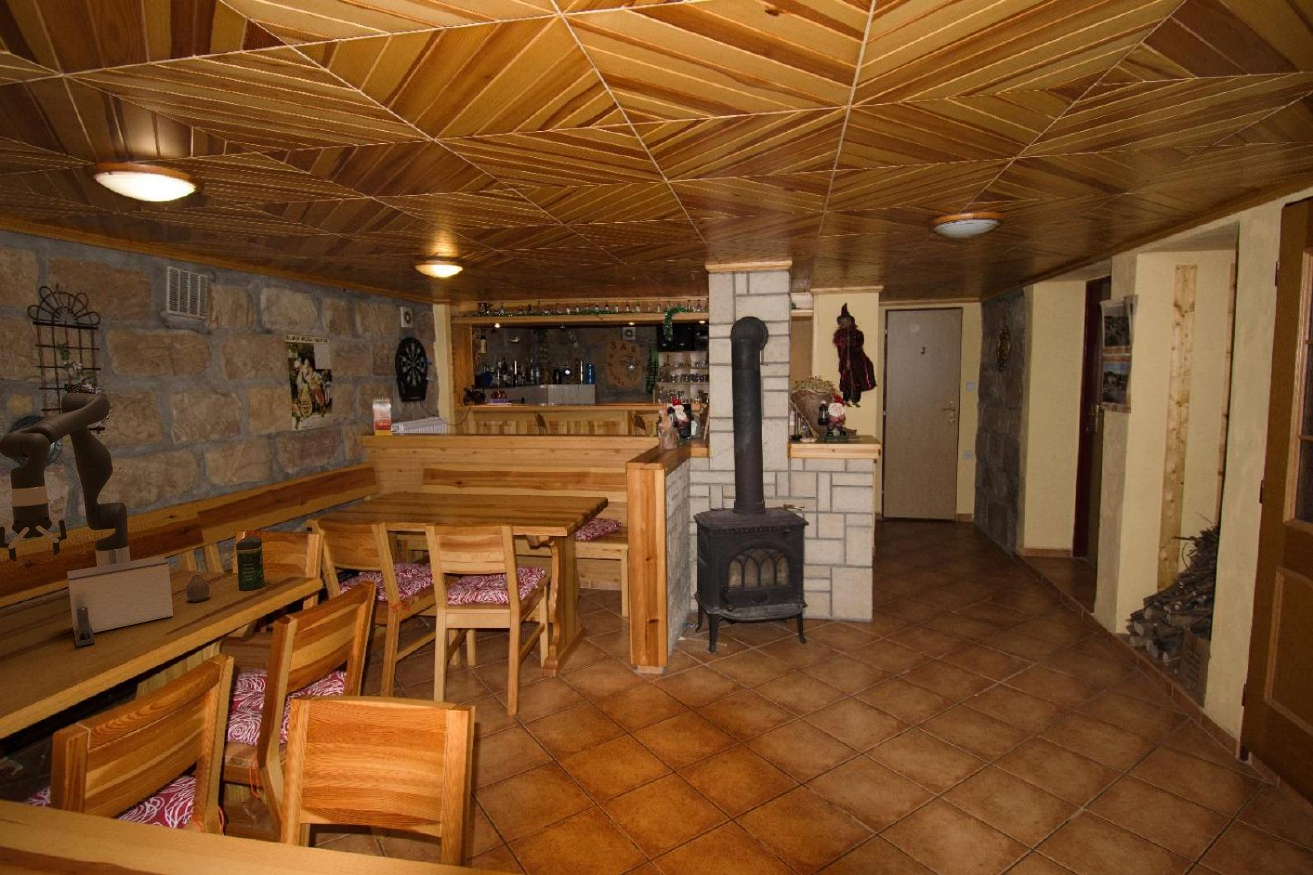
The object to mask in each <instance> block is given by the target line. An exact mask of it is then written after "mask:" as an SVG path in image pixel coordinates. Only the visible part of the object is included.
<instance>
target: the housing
mask: <svg viewBox="0 0 1313 875" xmlns="http://www.w3.org/2000/svg"><path fill="white" fill-rule="evenodd" d="M163 564H169V562H168V560H167V558H165V556H164V555H161V556H155V557H154V556H153V557H148V558H143V559H136V560H130V561H129V562H122V563H116V564H110V565H104V566H98V567H97V566H93V567H88V568H87V567H86V568H80V569H74V570H68V571H66V574H67V582H68V592H69V594H68V595H69V601H70V611H71V612H70V613H71V620H72V621H71V622H72V623H71V624H72V629H73V631H74V625H73V615H72V605H71V596H70V586H69V580H75V579H81V578H87V577H93V576H99V575H104V574H110V573H116V572H122V571H128V570H134V569H140V568H146V567H152V566H157V565H163ZM73 634H74V633H73ZM74 637H75V634H74Z"/></svg>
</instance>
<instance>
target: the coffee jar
mask: <svg viewBox="0 0 1313 875" xmlns="http://www.w3.org/2000/svg"><path fill="white" fill-rule="evenodd" d="M235 552H236V562H237V563H236V564H237V584H238V589H239V590H243V591H244V590H245V591H251V590H254V589H259V588H261V587H263V585H264V584H265V572H264V571H265V570H264V557H263V556H264V555H263V554H264V553H263V541H262V538H261V537H260V536H258V535H252V536H245V537H244V538H241V539H240V540H238V541H237V542H236V543H235Z"/></svg>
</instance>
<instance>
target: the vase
mask: <svg viewBox="0 0 1313 875" xmlns="http://www.w3.org/2000/svg"><path fill="white" fill-rule="evenodd" d="M210 592H211V588H210V584H209V582H208V581H207V580H206V579H205V578H204V577H203V576H202V575H201V574H194V575H192V577H191V579H190V580H189V581H188V582H187V584H186V588H185V595H186V598H187V600H188V601H190V602H193V603H196V602H197V601H198V602H202V600H203V601H205V600H206V599H207V598H208V597H209V595H210Z"/></svg>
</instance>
